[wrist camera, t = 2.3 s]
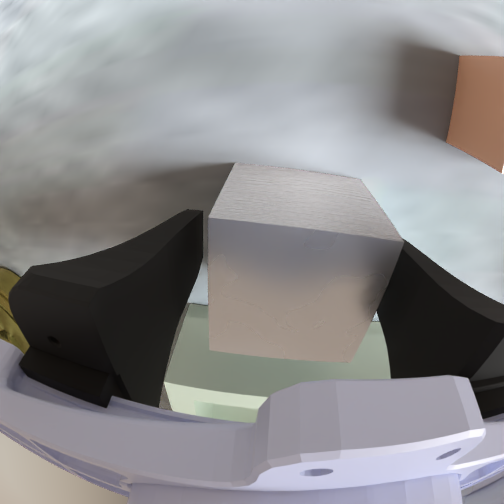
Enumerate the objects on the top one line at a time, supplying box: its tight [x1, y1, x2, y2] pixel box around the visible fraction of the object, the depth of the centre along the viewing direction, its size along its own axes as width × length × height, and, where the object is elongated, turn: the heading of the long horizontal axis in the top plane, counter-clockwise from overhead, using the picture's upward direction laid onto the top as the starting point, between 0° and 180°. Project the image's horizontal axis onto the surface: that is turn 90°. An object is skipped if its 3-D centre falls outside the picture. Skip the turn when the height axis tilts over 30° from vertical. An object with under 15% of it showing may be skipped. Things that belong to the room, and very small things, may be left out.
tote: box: [164, 303, 391, 423], centre depth 17 cm, size 15×15×5 cm
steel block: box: [208, 163, 404, 363], centre depth 10 cm, size 5×5×5 cm
